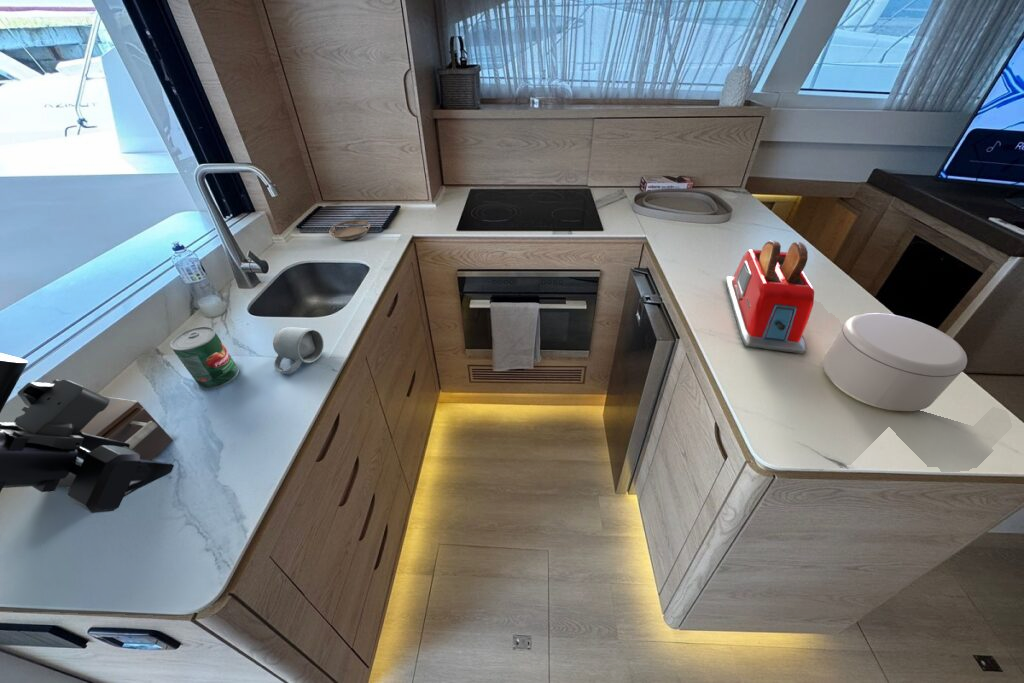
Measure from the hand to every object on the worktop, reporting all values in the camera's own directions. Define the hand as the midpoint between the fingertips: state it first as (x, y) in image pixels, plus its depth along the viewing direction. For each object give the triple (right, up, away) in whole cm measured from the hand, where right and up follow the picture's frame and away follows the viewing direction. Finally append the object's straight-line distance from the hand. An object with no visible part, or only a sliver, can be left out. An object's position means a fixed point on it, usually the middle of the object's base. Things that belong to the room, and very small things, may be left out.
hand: (149, 457), depth 53 cm
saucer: (-12, +56, +95) cm, 111 cm away
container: (+122, +7, +27) cm, 125 cm away
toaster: (+112, +23, +48) cm, 124 cm away
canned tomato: (-16, +8, +35) cm, 39 cm away
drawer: (-19, -6, +16) cm, 26 cm away
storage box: (-23, -6, +18) cm, 29 cm away
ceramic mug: (0, +11, +38) cm, 40 cm away
